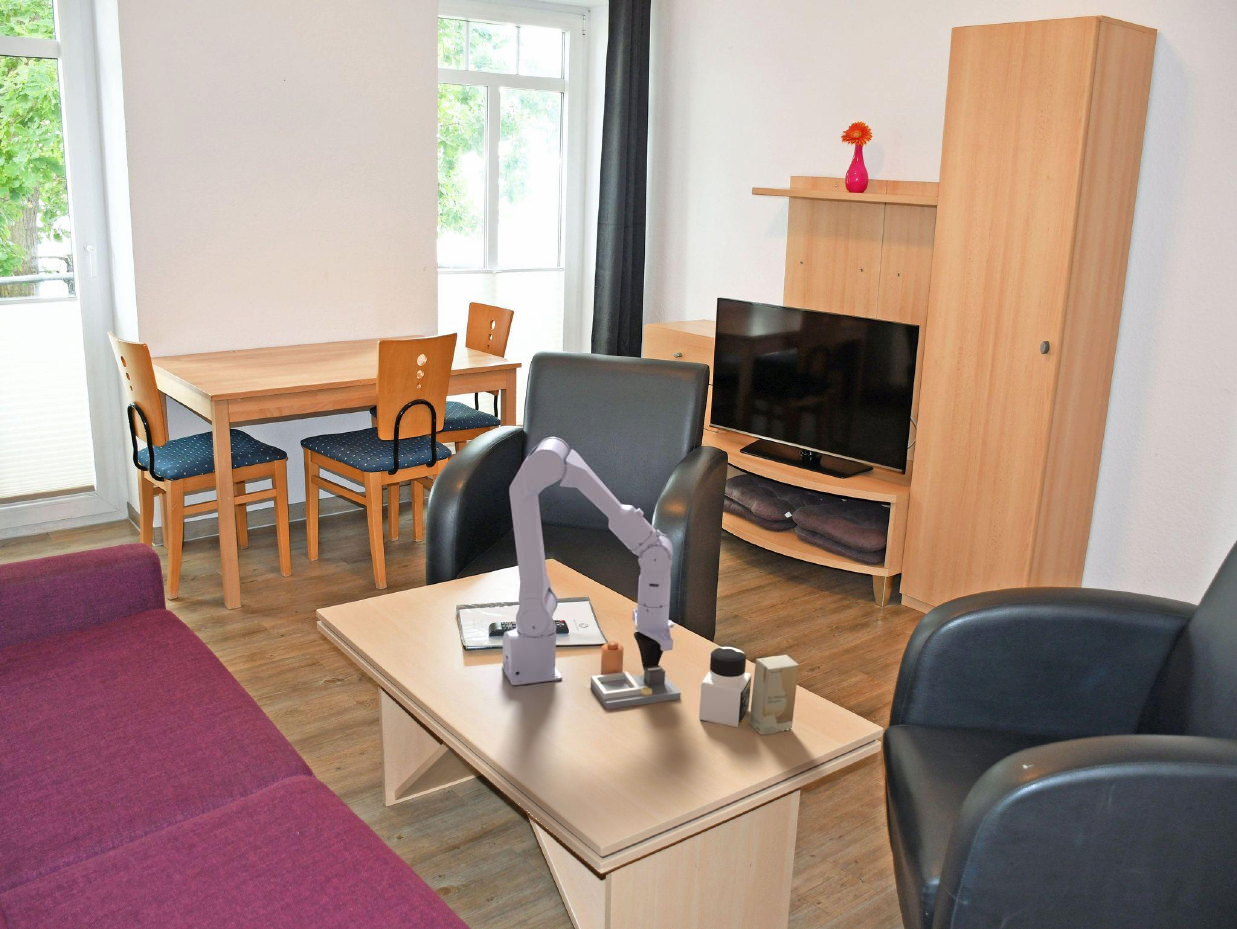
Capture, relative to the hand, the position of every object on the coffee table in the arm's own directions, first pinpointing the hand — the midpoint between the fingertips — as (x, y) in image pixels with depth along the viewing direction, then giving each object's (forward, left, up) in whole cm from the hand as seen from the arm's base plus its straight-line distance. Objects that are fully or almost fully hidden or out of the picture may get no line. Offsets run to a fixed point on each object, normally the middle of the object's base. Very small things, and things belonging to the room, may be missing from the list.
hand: (649, 670), depth 199 cm
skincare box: (+14, -21, -2) cm, 25 cm away
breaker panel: (-4, -3, -2) cm, 6 cm away
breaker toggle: (0, -2, -1) cm, 3 cm away
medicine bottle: (+8, -15, -2) cm, 17 cm away
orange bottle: (-6, +4, -2) cm, 7 cm away
